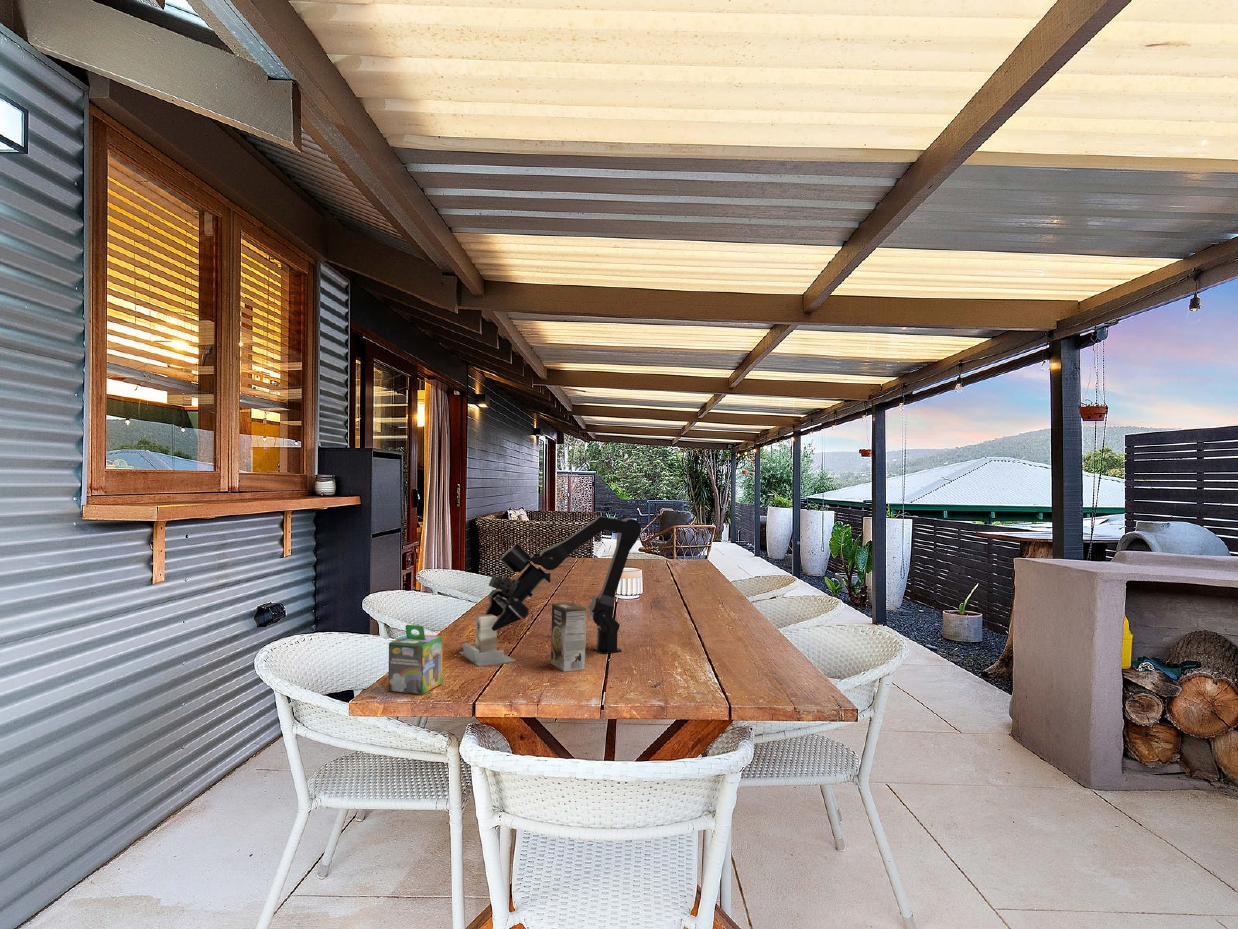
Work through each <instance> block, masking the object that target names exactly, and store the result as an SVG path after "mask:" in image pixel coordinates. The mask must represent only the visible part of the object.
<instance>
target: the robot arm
mask: <svg viewBox="0 0 1238 929" xmlns="http://www.w3.org/2000/svg"><path fill="white" fill-rule="evenodd" d="M605 530H606V531H609V532H614V533H616V545H615V549H614V553H613V555H612V559H611V561H610V563H609V566H608V569H607V572H606V576H605V579H604V581H603V585H602V588H601V591H600V592H599V593H598V595H597V596H596V595H595V594H593V595H592V597H591V602H590V605H589V606H588V607H587V608H588V609H589V616H590V618H591V620H592V622H594V624H596V626H597V629H596V630H597V631H596V646H594V647H593V646H592V650H593V651H596V652H598V653H600V654H610V653H611V654H612V653H619V652H622V651H623V650H622V648H619V647H618V633H619V631H620V630H619V629H620V627H621V624H620V623H619V622H618V621H617V620H616V619H615V618H614V617H613V616H614V609H615V597H616V593H617V589H618V587H619V585H620V581H621V578H622V575H623V573H624V569H625V566H626V563H627V560H628V557H629V554H630V551H631V550H632V548H633V547H634V545H635V544H636V542H637V541H638V539H639V537H640V536H641V534H642V530H643V528H642V525H641V523H640V522H639V520H636V519H635V518H630V517H626V518H625V517H624V519H616V518H613V517H612V518H610V517H607V516H603V515H598V516H597V517H595V518H594V519H593V520H592V521H590V522H589V523H588V524H586V525H585V526H583V527H582V528H580V529H579V530H577V531H576V532H575V533H573V534H572V535H569V537H567V538H566V539H565V540H563V541H560V542H558V543H555V544H552V545H550V546H549V547H545V548H544V549H542V550H541V551H540V552H538V553H532V554H529V553H528V552H527V551H526V550H525V549H524V548H522V546H521V544H519V543H518V542H516V543H515V544H514V545H512V547H510V548H509V549H507V550H506V551H505V552H504V554H502V556H501V557H500V558H499V560H500V562H502V564H504V565H505V566H506V567H507V568H508V569H509V570H510V571H511V572H512V573H513V574H515V573H518V574H520V573H521V572H522V573H521V574H520V575H519V576H518V577H517V578H516V579H514V578H513V579H511V577H507V576H505V575H503V576H502V577H499V576H497V575H494V574H493V575H492V576H491V579H490V580H489V583H488V586H489V587H491V588H494V589H492V590H491V591H490V593H489V594H488V595H489V596H488V599H489V606H488V608H487V610H486V612H485V614H484V615H488V614H492V615H494V616H496V617H497V621H496V622H495V623H494V625H493V626H492V630H493V631H496V630H497V631H498V630H500V629H502V628H504V627H506V626H509V625H510V624H513V623H515V622H517V621H521V620H523V619H524V620H525V618H526V617H527V616H529V614H530V613H529V612H530V610H529V608H528V607H527V606H526V605H525V604H524V602H525V600H526V599H527V598H532V596H533V592H534V590H535V589H536V588H537V587H538V586H540V584H541V583H542V582H543V581H544V582H545V583H551V582H552V580H551V574H552V573H550V572H546V571H553V570H556V569H557V568H559V566H560V565H561V564H562V563H563V562H564V561H565V560H566V559H567V557H569V555H570V554H572V552H574V551H576V550H577V549H578V548H580V547H581V546H582V545H584V544H585V543H587V542H588V541H590V540H592V539H593V538H594V537H596V536H597V535H598V534H600V533H601V532H604V531H605ZM535 565H536V566H537V567H536V566H535ZM540 566H541V567H542V568H543V569H544V570H543V569H542V568H541V567H540ZM524 569H525V570H524ZM545 570H546V571H545Z"/></svg>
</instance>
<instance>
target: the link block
mask: <svg viewBox="0 0 1238 929" xmlns="http://www.w3.org/2000/svg"><path fill="white" fill-rule="evenodd" d="M497 619H498V617H496V616H494V615H492V614H488V615H485V614H478V615H476V616H475V640H474V641H475V642H474V643H475V645H474V646H475V648H477V649H478V650H479V653H482V652H491V651H496V650H497V640H498V639H497V638H498V637H497V636H498V634H497V633H498V630H496V631H493V630H492V626H493V625H494V623H495V622H496V621H497Z"/></svg>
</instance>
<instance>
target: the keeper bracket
mask: <svg viewBox="0 0 1238 929" xmlns="http://www.w3.org/2000/svg"><path fill="white" fill-rule="evenodd" d="M462 650H463V651H459V654H460V655H461V656H463V657H464V658H465V659H467V660H469V661H470V662H471V663H473V664H474V665H476V666H477V667H479V668H482V667H489V666H496V665H498V666H499V665H505V664H511V663H516V660H515V659H513V658H512V657H509V656H508V655H507V654H505V650H503V649H501V650H498V649H496V651H491V652H482V653H479V650H478V649H477V648H475V645H472V644H470V643H469V642H464V643H463V649H462Z"/></svg>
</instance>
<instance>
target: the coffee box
mask: <svg viewBox="0 0 1238 929" xmlns="http://www.w3.org/2000/svg"><path fill="white" fill-rule="evenodd" d="M586 637H587V608H586V607H584V606H581V605H579V604H576V603H574V602H557V603H552V604H551V638H550V639H551V642H550V644H551V645H550V646H551V648H550V649H551V650H550V664H551V665H553V666H554V667H556V668H558V669H559V670H561V671H562V672H564V673H565V672H574V671H575V672H576V671H583V670H585V669H586V641H587V640H586V639H587V638H586Z"/></svg>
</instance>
